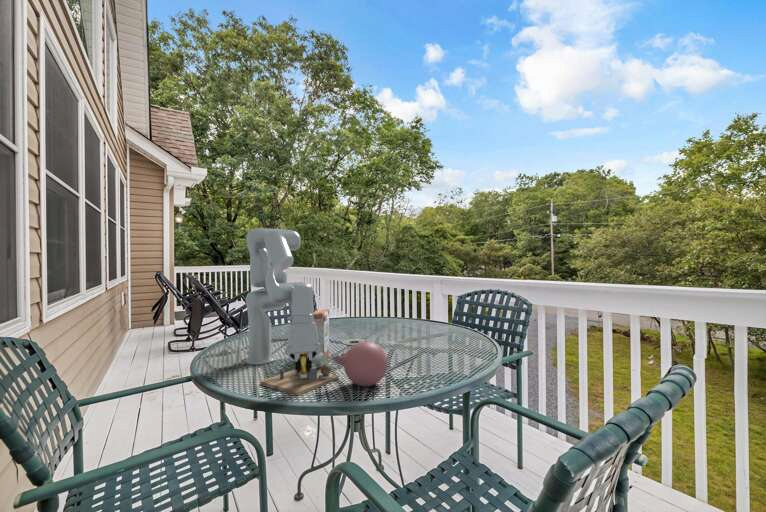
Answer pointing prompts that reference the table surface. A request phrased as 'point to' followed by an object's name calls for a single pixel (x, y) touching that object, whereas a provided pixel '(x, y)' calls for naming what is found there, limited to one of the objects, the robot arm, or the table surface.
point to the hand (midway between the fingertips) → (303, 370)
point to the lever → (303, 365)
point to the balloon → (363, 363)
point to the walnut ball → (325, 369)
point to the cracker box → (322, 329)
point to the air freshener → (318, 359)
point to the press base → (298, 381)
